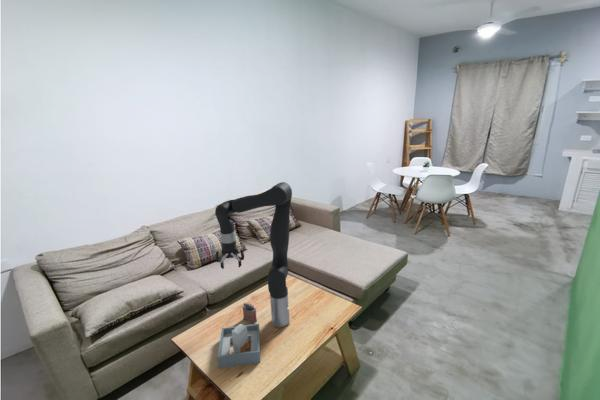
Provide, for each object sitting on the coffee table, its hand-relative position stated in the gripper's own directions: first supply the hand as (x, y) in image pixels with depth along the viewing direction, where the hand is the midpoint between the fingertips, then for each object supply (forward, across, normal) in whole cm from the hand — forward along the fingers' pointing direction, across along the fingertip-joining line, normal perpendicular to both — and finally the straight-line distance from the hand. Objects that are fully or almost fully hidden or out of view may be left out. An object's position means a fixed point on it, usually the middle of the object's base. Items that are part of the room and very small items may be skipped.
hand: (231, 267), depth 156 cm
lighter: (+28, -8, +8) cm, 30 cm away
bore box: (+28, -4, +28) cm, 40 cm away
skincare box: (+28, -4, +28) cm, 40 cm away
